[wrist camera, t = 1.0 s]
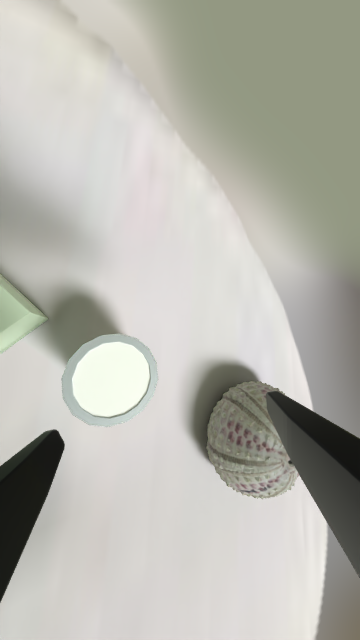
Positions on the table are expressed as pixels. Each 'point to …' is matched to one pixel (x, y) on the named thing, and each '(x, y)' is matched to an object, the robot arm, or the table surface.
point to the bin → (16, 315)
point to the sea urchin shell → (249, 443)
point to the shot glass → (109, 380)
